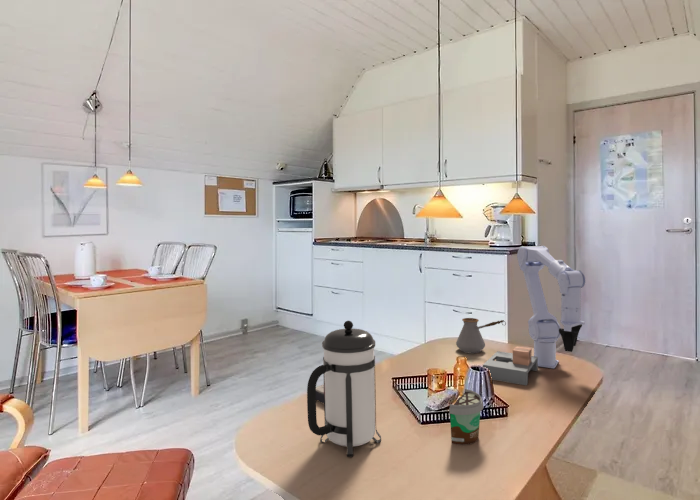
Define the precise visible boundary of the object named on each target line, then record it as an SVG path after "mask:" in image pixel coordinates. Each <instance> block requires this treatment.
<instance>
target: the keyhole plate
mask: <svg viewBox="0 0 700 500" xmlns="http://www.w3.org/2000/svg"><path fill="white" fill-rule="evenodd" d="M483 367H486V368H488V369H489V370H490V373H491V377H492V379H491V381H493V380H494V381H497V382H498V381H499V382H503V383H508V384H515V385H521V386H528V385H529V384H528V383H529V382H528V380H529V377H528V376H529V372H530V371H535V372H537V371H538V370H539V368H538V367H539V366H538V357H535V356H534V355H532V356H531V363H530V364H529V365H528V366H527V365H521V364H514V363H513V352H506V351H499V350H497V351H496V352H494V354H493V355H491V356H490V358H488V359H487V360H486V361H485V362H484V363H483V364H482V368H483Z"/></svg>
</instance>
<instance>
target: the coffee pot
mask: <svg viewBox="0 0 700 500" xmlns="http://www.w3.org/2000/svg"><path fill="white" fill-rule="evenodd" d="M462 321H463V325H462V328H461V329H460V333H459V335H458V337H457V339H456V342H455V345H456V347H457V348H458V349H459V350H460V351H461V352H462V353H465V354H479V353H481V352H482V350H483V349H484V348H485V347H486V343H485V341H484V337H483V336H482V333H481V332H480V331H481V330H480V329H484V328H487V327H491V326H495V325H497V324H498V325H500V324H502V326H503V327H505V326H506V324H507V322H506V321H505V320H502V319H501V320H496V321H492V322H489V323H485V324H483V325H480V326H478V322H479V319H478V318H473V317H464V318H462ZM503 323H504V324H503Z"/></svg>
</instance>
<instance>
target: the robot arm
mask: <svg viewBox="0 0 700 500" xmlns="http://www.w3.org/2000/svg"><path fill="white" fill-rule="evenodd" d="M516 256H517V257H516V258H517V263H518V266H519V270H520V271H522V273H523V278H524V280H525V284H526V289H527V292H528V297H529V301H530V304H531V308H532V313H533V314H532V316H531V317H530V318H529V319H528V321H527V323H528V334H529V337H530V338H531V340H533V356H535V357H538V367H541V368H547V369H548V368H549V369H555V368H556V367H557V365H558V364H559V360H558V359H557V355H556V354H557V345H556V343H557V342H558V339H560V337H561V339H562V343H563V348H564V351H565V352H571V353H572V352H573V351H574V347H575V346H577V342H578V338H579V333H580V330H581V328H582V327H583V325H585V322H586V321H583V320H581V319H582V318H581V315H582V314H581V311H582V308H581V307H582V306H581V305H582V288H584V286H585V285H586V276H585V273H584V272H583V271H582V270H579V269H577V270H576V269H573V268H572V267H571V266H569V265H567V263H565V262H564V260H563V259H555V258H554V256H553V255H551V254H550V249H549V248H548V247H547V246H545V245H541V246H540V245H538V246H537V245H534V246H523V245H522V246H519V248H518V250H517V254H516ZM544 267H546V268H548V269H547V271H548V273H549V274H550V275H551V276H553V278H555V279H556V280H557V283H558V284H557V285H558V286H559V293H560V294H561V297H560V301H561V307H560V309H561V311H560V323H559V322H558V319H557V317H556V316H554V314H552V313H551V312H549V310H548V306H547V305H548V304H547V301H546V297H545V294H544V290H543V287H542V283H541V279H540V275H539V272H540V271H541V270H543V269H544ZM561 325H562V327H563V328H562V327H561Z"/></svg>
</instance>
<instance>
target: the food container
mask: <svg viewBox="0 0 700 500" xmlns="http://www.w3.org/2000/svg"><path fill="white" fill-rule="evenodd" d="M483 409H484V403H483V399H482V397H481V395H480V394H479V393H477V392H476V391H474V390H471V389H467V388H464V392H463V394H462V395H461V396H460V397H458V398H457V399H456V400H455V402H454V404H449V412H448V413H449V414H450V415H449V417H450V436H451V437H450V438H451V439H450V440H451V444H452V445H456V446H457V445H460V446H466V445H472V444H475V443H476V442H477V441H478V440H479V437H480V435H479V433H480V421H481V420H480V419H481V411H483Z"/></svg>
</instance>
